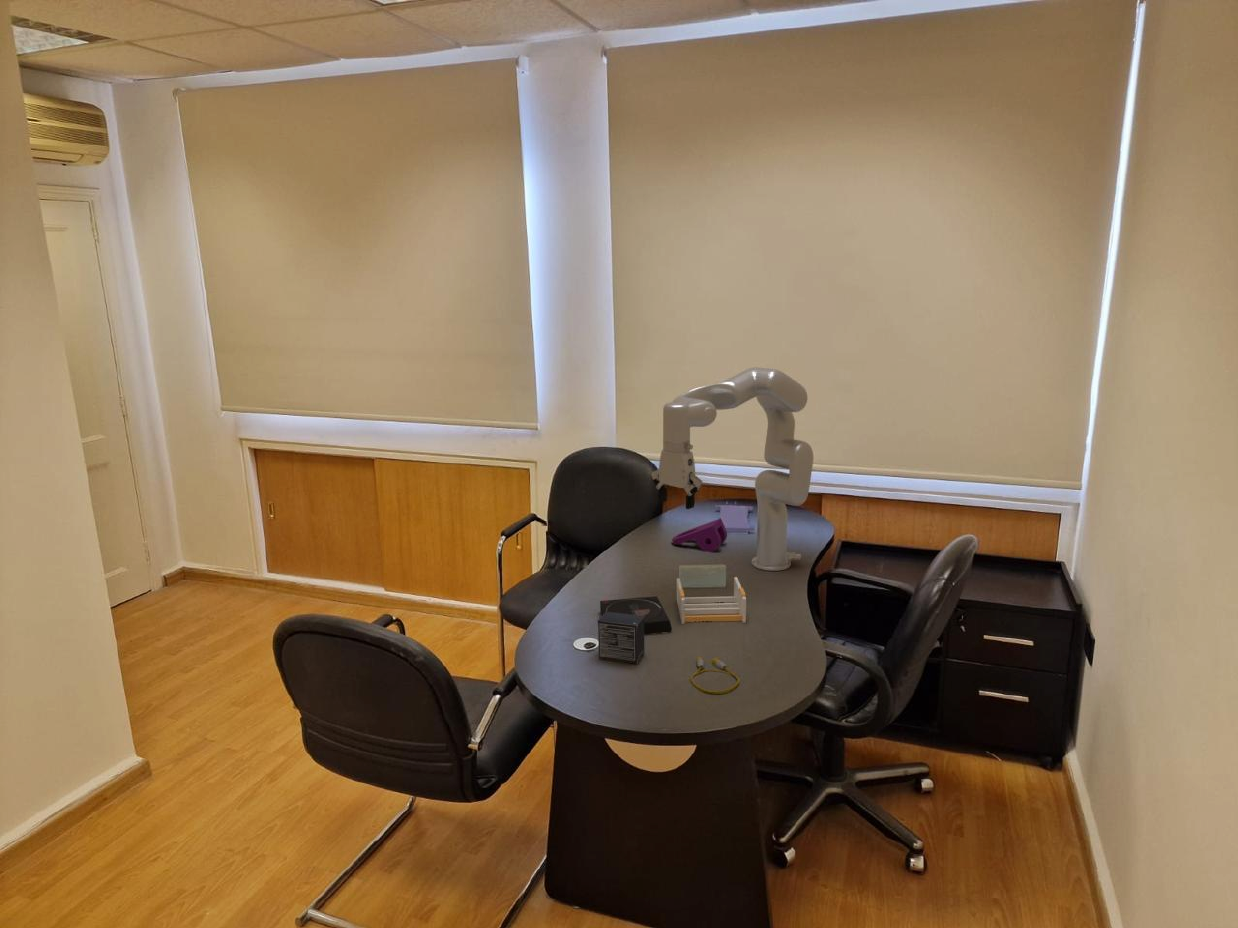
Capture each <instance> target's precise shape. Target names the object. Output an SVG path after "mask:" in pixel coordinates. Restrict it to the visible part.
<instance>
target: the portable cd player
mask: <svg viewBox="0 0 1238 928" xmlns="http://www.w3.org/2000/svg"><path fill="white" fill-rule="evenodd" d="M599 604H600V605H599V606H600V608H599V609H600V610H599V611H600V615H601V616H602V615H603V614H604V613H605V612H613V613H622V614H630V615H638V616H644V634H645V635H653V634H652V633H657V634H663V633H662V632H668V633H671V632H672V630H673V628H672V624H671V620H670V618H669V616H668V614H667V613H666V611H665V609H664V606H663V605H662V603H661V601H660V600H659V597H658V596H657V595H656V596H646V597H645V596H644V597H643V596H642V597H632V598H630V597H629V598H620V599H619V598H618V599H606V600H600V601H599ZM601 616H600V617H601Z"/></svg>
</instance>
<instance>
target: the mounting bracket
mask: <svg viewBox="0 0 1238 928" xmlns="http://www.w3.org/2000/svg"><path fill="white" fill-rule="evenodd" d="M727 537H728V534H727V531H726V529H725V526H724V524H723V522H722V520H721V518H720V517H719V518H717V519H716V520H712V521H709V522H707V523H704V524H701V525H698V526H696V527H693V528H690V529H687V530H685V531H682V532H681V533H679V534H677V535H675V536H673V537H672V538H671V540H672V543H673V544H674V546H677V545H681V544H683V543H687V542H690V541H692V540H693V541H694V540H696V543H697V545H698V547H699V549H700V550H702V551H703V552H707V553H713V552H715V551H717V549H719V548H720V546H721V545H723V543H724V542H725V541H726V540H727Z"/></svg>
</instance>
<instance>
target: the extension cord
mask: <svg viewBox="0 0 1238 928" xmlns="http://www.w3.org/2000/svg"><path fill="white" fill-rule="evenodd" d="M711 665H713V666H714V667H716V668H718V669H720V670H717V669H704V667H705V662H704V659H703V657H701V656H698V657H696V666H697V667H698V669H697V670H696V671H695V672H694V673H693V674H692V675H691V676H690V682H691V684H692V685H693V687H695V689H696V690H698V691H701V692H703V693H708V694H713V695H724V694H727V693H730V692H732V691H734V690H735V689H736V688H737V687H738V686H739V685H740V682H741V681H740V678H739V677H738V675H736V674H735V673H733V672H732V671H731V670H729V669H728V668H727V667H728V666H727V664H726V663H725V662H723V661H721V659H720V658H719V657H714V658H713V659H712V661H711ZM725 670H726V671H725ZM704 672H717V673H723V674H727V675H730V676H732V677H735V679H736V680H737V682H736V683H735V684H734V685H733V686H731V687H729V688H726V689H723V690H707V689H705V688H702V687H701V686H699V685H698V684H696V683H695V681H694V680H693V679H694V677H695V676H697V675H699V674H702V673H704Z"/></svg>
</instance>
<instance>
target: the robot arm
mask: <svg viewBox="0 0 1238 928" xmlns="http://www.w3.org/2000/svg"><path fill="white" fill-rule="evenodd" d="M754 398H756V400H757V402H758V404H759V405H760V406H761V407H762V409H763V410H764V413H765V415H766V419H767V430H766V436H765V437H766V438H765V444H764V445H765V446H764V452H763V453H764V455H763V456H764V461H765V462H766V463H767V465H770V466H774V467H777V468H782V469H787V470H789V473H788V472H784V471H780V470H775V469H765V470H762V471H761V472H760V473H758V475H757V476H756V478H755V481H754V489H755V494H756V500H757V526H756V527H757V531H756V536H757V537H756V556H754V557H753V558H752V559H751V565H752V566H753V567H754V568H756V569H759V570H763V571H770V572H776V571H777V572H778V571H784V570H788V569H789V568H790V567H791V565H792V563H791V561H801V560H802V554H801V553H796V552H795V551H794V552H793V551H791V552H788V550H787V548H788V547H787V546H788V545H787V543H788V542H787V541H788V540H787V539H788V509H787V505H790V506H794V507H795V506H796V507H798V506H801V505H802V504H804V503H805V502H806V500H807V499H808V495H809V491H810V487H811V486H810V485H811V479H812V472H813V467H814V466H813V465H814V452H813V448H812V446H811V445H810V444H809V443H808V442H806V441H805V440H801V439H800V440H799V439H795V430H796V420H795V415H794V413H799V412H801V411H802V410H804V408H805V407H806V405H807V404H808V403H807V402H808V393H807V391H806V389H805V387H804V386H803V385H802V384H801V383H799V382H797V381H796V380H795V379H793V378H792V377H791V376H789V375H787V374H786V373H785V372H783V371H782V370H779V369H775V368H765V367H750V368H747V369H745V370H743V371H741V372H739V373H737V374H736V375H733V376H732V377H730V378H728V379H726V380H723V381H720V382H715V383H712V384H707V385H704V386H703V385H702V386H699V387H696V388H693V389H691V390H688V391H686V392H684V393H682V394H680V395H678V396H676V397H675V398H674V399H673V400H672V401H671V402H670V401H669V402H667V403H665V404H664V405H663V410H662V450H661V452H660V456H659V464H658V469H656V470H654V471H651V473H650V475H651V478H652V480H653V484H654V485H655V487H656V489H657V490H658V491H657V493H658V494H657V499H658V501H657V502H658V503H659V504H663V503H666V502H667V501H668V488H667V486H670V487H676V488H681V489H684V491H685V492H686V495H685V510H690V509H693V508H695V500H696V499H695V498H696V497H695V496H696V494H697V493H698V492H699V491H700V490H701V486H702V484H703V480H702V479H700V478H699V476H697V475H696V466H695V465H696V464H695V458H694V452H693V451H691V450H693V448H694V445H693V444H691V428H692V427H693V428H695V427H696V428H703V427H707V426H709V425H711V424H713V423H714V421H715V420H716V418H717V411H718V410H719V411H721V410H722V411H723V410H731V409H732V410H733V409H735V408H738V407H740V406H741V405H743V404H745V403H747V402H748V401H751V400H753V399H754Z"/></svg>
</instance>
